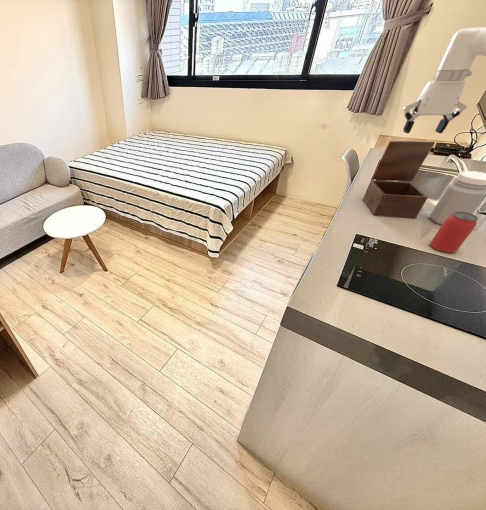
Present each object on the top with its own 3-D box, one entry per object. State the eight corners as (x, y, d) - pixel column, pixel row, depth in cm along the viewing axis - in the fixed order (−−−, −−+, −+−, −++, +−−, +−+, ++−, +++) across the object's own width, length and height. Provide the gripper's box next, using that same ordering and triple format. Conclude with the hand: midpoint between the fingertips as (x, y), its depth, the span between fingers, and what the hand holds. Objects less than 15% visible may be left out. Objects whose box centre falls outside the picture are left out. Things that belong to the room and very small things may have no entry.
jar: (425, 222, 104) (454, 175, 93) (432, 213, 108) (459, 167, 98) (461, 231, 97) (496, 182, 87) (466, 221, 102) (500, 174, 92)
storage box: (415, 218, 106) (428, 197, 101) (373, 215, 110) (383, 194, 104) (400, 202, 117) (410, 182, 112) (362, 199, 121) (370, 180, 116)
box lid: (435, 142, 101) (429, 137, 105) (390, 141, 105) (385, 136, 108) (411, 181, 111) (406, 175, 115) (371, 179, 115) (368, 173, 119)
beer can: (436, 252, 89) (459, 220, 82) (425, 241, 94) (445, 210, 87) (461, 254, 87) (486, 221, 80) (448, 243, 92) (471, 211, 85)
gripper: (475, 74, 90) (445, 130, 100) (412, 76, 95) (389, 130, 105) (491, 75, 84) (457, 135, 95) (423, 78, 89) (398, 135, 99)
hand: (422, 132), depth 100 cm, fingers open, 9 cm apart
